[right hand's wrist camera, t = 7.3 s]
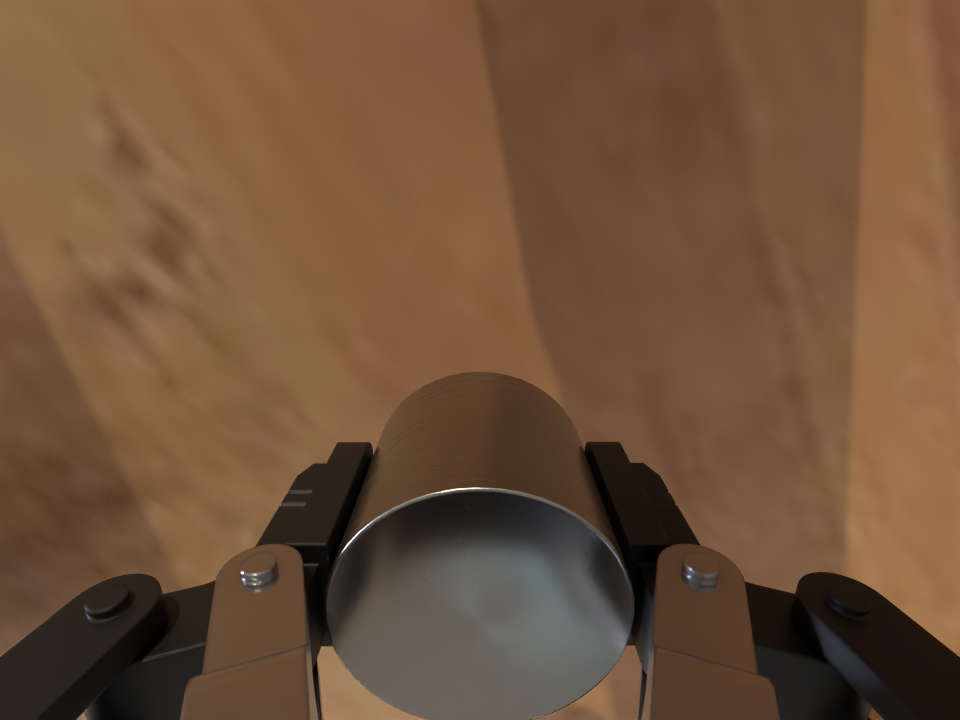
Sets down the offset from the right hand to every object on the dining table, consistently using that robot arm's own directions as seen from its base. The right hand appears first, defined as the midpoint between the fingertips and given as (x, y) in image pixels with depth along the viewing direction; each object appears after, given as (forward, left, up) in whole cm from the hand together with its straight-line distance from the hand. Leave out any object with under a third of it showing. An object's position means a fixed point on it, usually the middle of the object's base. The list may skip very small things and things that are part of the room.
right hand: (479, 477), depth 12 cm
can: (0, 0, 0) cm, 0 cm away
